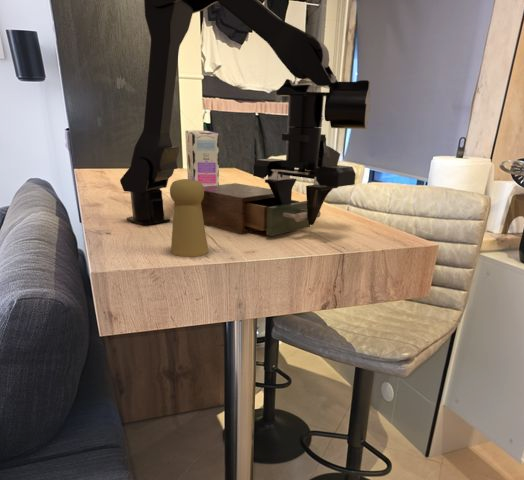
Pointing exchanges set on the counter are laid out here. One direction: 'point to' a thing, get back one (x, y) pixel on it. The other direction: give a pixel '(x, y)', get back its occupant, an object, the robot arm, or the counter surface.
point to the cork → (188, 219)
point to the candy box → (203, 156)
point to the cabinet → (230, 205)
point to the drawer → (276, 216)
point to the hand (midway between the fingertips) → (298, 222)
